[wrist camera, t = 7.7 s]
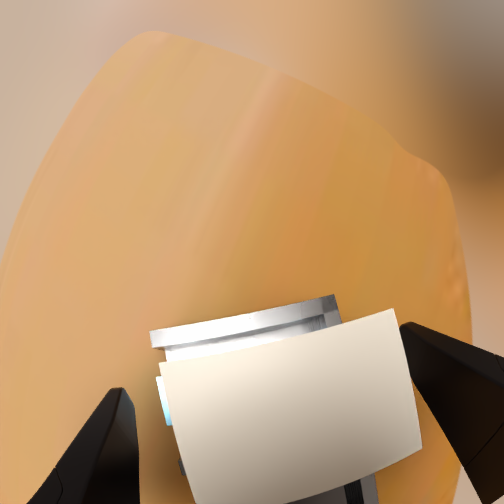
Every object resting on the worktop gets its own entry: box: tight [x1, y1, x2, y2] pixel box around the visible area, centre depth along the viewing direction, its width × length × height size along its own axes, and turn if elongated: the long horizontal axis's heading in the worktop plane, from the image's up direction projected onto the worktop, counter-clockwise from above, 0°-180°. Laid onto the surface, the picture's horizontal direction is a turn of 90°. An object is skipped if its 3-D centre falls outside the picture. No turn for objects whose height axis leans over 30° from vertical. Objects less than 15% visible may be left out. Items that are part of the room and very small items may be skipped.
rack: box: [150, 294, 379, 504], centre depth 12 cm, size 20×10×5 cm, turn 12°
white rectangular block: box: [159, 308, 422, 504], centre depth 10 cm, size 4×5×11 cm
